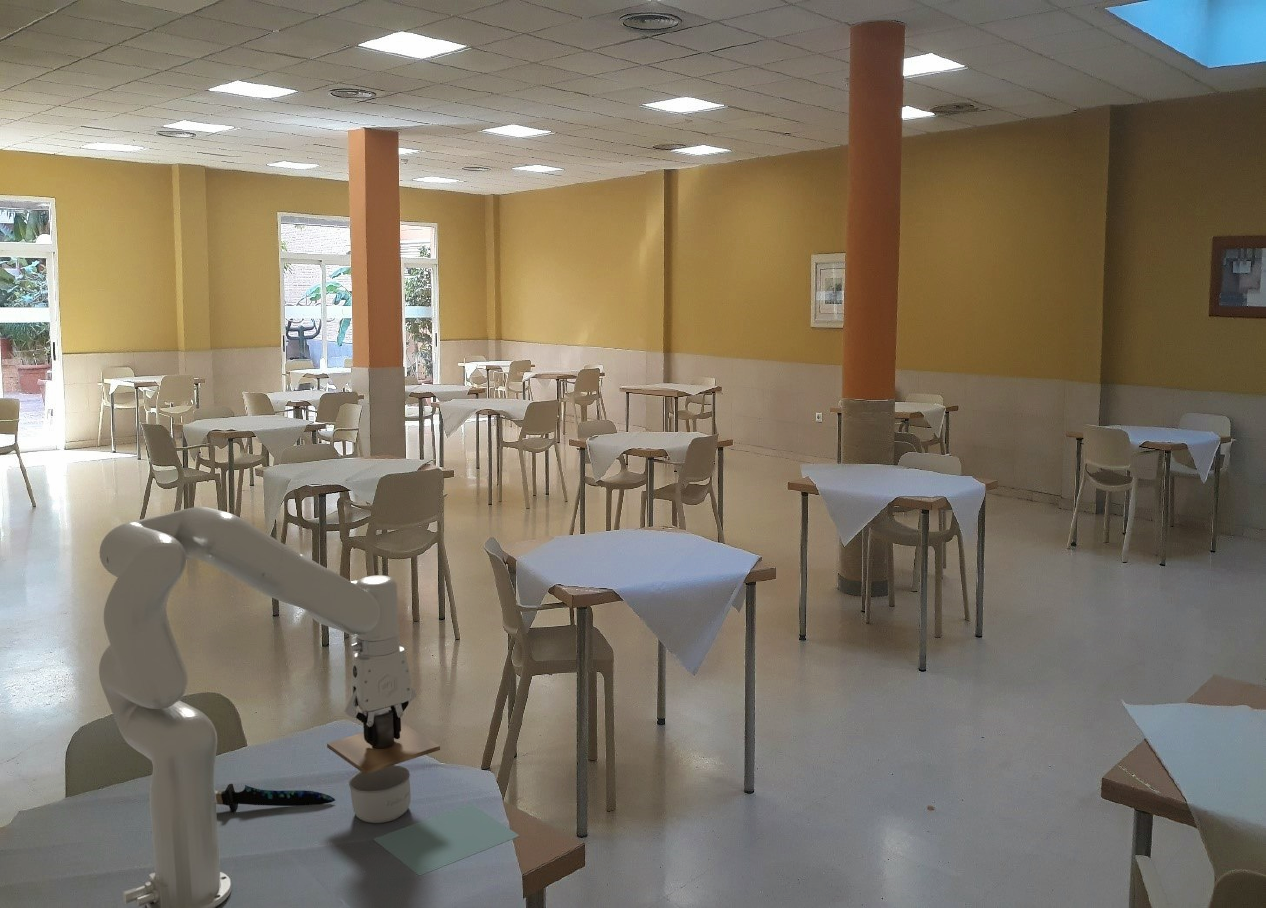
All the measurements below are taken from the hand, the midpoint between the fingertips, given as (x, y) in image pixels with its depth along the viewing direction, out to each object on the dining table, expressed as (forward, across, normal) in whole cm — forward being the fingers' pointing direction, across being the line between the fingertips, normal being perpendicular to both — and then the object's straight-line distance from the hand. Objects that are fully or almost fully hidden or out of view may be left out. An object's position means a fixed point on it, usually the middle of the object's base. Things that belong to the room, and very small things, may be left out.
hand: (383, 739), depth 197 cm
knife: (+14, -18, +18) cm, 29 cm away
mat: (+14, +3, -17) cm, 22 cm away
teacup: (+15, 0, 0) cm, 15 cm away
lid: (+2, 0, 0) cm, 2 cm away
